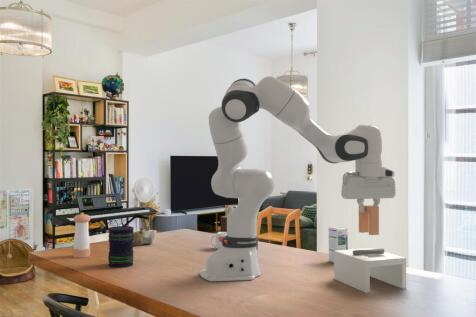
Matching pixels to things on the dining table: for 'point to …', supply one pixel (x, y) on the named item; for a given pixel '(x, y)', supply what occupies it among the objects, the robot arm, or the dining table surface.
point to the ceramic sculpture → (143, 237)
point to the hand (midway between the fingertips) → (368, 211)
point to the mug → (218, 239)
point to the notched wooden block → (369, 220)
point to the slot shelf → (369, 268)
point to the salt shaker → (81, 236)
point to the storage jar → (121, 246)
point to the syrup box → (337, 240)
